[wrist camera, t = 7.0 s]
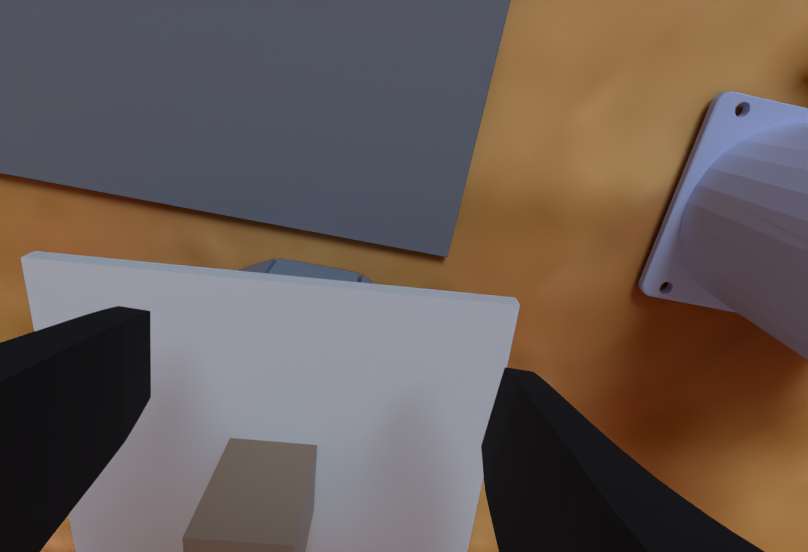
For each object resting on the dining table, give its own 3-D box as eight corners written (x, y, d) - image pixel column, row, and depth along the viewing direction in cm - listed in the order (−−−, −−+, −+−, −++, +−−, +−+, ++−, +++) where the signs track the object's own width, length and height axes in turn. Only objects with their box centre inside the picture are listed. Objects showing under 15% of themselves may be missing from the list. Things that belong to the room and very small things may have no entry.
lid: (515, 297, 16) (558, 376, 11) (449, 613, 21) (462, 748, 17) (34, 251, 15) (-111, 317, 11) (93, 590, 20) (12, 724, 16)
